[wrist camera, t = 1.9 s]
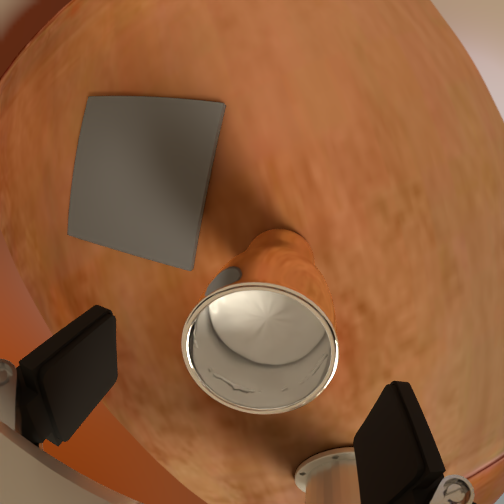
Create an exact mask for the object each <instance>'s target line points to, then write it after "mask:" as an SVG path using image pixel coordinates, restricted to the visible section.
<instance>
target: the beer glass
mask: <svg viewBox="0 0 504 504" xmlns="http://www.w3.org/2000/svg"><path fill="white" fill-rule="evenodd" d="M181 348H182V355H183V359H184V362H185V365H186V367H187V369H188V371H189V373H190V375H191V376H192V378H193V379H194V381H195V382H196V383H197V384H198V386H199V387H200V388H201V389H202V390H203V391H204V392H205V393H207V394H208V395H209V396H210V397H212V398H213V399H215V400H216V401H218V402H220V403H221V404H223V405H225V406H227V407H230V408H232V409H235V410H238V411H242V412H246V413H252V414H278V413H284V412H288V411H292V410H294V409H297V408H300V407H302V406H304V405H306V404H307V403H309V402H311V401H312V400H314V399H315V398H316V397H317V396H319V395H320V394H321V393H322V392H323V391H324V390H325V388H326V387H327V386H328V385H329V383H330V382H331V380H332V378H333V376H334V374H335V372H336V369H337V365H338V360H339V343H338V338H337V325H336V315H335V309H334V304H333V300H332V296H331V293H330V291H329V288H328V285H327V283H326V281H325V279H324V277H323V275H322V274H321V272H320V271H319V270H318V268H317V267H316V266H315V261H314V255H313V252H312V249H311V247H310V246H309V244H308V243H307V241H306V240H305V239H304V238H303V237H302V236H300V235H299V234H297V233H295V232H293V231H290V230H287V229H271V230H268V231H265V232H263V233H261V234H260V235H258V236H257V237H256V238H255V239H254V240H253V241H252V242H251V243H250V245H249V246H248V248H247V250H246V251H244V252H242V253H240V254H239V255H237V256H235V257H234V258H232V259H231V260H230V261H229V262H228V263H227V264H225V265H224V266H223V267H222V268H221V269H220V270H219V271H218V272H217V274H216V275H215V276H214V277H213V279H212V280H211V281H210V283H209V284H208V286H207V287H206V289H205V290H204V292H203V293H202V295H201V297H200V298H199V300H198V302H197V304H196V306H195V307H194V308H193V309H192V311H191V312H190V314H189V316H188V317H187V320H186V322H185V324H184V327H183V331H182V338H181Z"/></svg>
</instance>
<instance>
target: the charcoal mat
mask: <svg viewBox="0 0 504 504" xmlns="http://www.w3.org/2000/svg"><path fill="white" fill-rule="evenodd" d="M225 108H226V105H225V104H224V103H219V102H211V101H202V100H191V99H180V98H166V97H145V96H89V97H88V101H87V105H86V109H85V113H84V117H83V122H82V126H81V131H80V136H79V141H78V147H77V152H76V158H75V165H74V171H73V179H72V187H71V196H70V206H69V218H68V234H67V235H70V236H73V237H76V238H79V239H82V240H85V241H89V242H92V243H95V244H98V245H102V246H105V247H108V248H112V249H115V250H118V251H122V252H125V253H128V254H132V255H135V256H139V257H142V258H145V259H149V260H152V261H156V262H159V263H163V264H166V265H170V266H174V267H177V268H181V269H184V270H188V271H191V270H192V269H193V267H194V261H195V255H196V249H197V243H198V238H199V232H200V226H201V221H202V215H203V210H204V205H205V200H206V195H207V189H208V184H209V180H210V175H211V170H212V165H213V160H214V156H215V151H216V147H217V142H218V138H219V133H220V129H221V124H222V120H223V116H224V112H225Z"/></svg>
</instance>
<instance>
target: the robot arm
mask: <svg viewBox="0 0 504 504" xmlns="http://www.w3.org/2000/svg"><path fill="white" fill-rule="evenodd" d="M19 364H20V365H19V366H18V367H17V368H15V366H14V365H13V364H12V363H11V362H10V361H7V360H5V359H0V504H143V503H141V502H138V501H136V500H134V499H131V498H129V497H126V496H124V495H122V494H119V493H118V492H115V491H113V490H111V489H109V488H107V487H105V486H103V485H101V484H99V483H97V482H95V481H93V480H91V479H89V478H88V477H86V476H84V475H82V474H80V473H78V472H77V471H75V470H73V469H71V468H70V467H68V466H67V465H65V464H63V463H62V462H60V461H58V460H57V459H55V458H54V457H52V456H50V455H49V454H47V453H46V452H44V451H43V444H42V443H43V441H44V440H45V439H47V440H49V441H50V442H52V443H53V444H55V445H57V446H59V445H60V444H61V442H62V441H64V442H66V441H68V440H69V439H70V437H71V436H72V435H73V434H74V433H75V431H76V430H77V429H78V428H79V426H80V425H81V424H82V422H83V421H84V420H85V419H86V418H87V417H88V415H89V414H90V413H91V412H92V410H93V409H94V408H95V407H96V406H97V404H98V403H99V402H100V401H101V399H102V398H103V397H104V396H105V395H106V393H107V392H108V391H109V390H110V389H111V387H112V386H113V385H114V384H115V382H116V380H117V376H118V372H117V351H116V318H115V316H113V313H112V311H111V310H109V309H106V308H104V307H101V306H99V305H95V306H93V307H92V308H91V309H89V310H88V311H86V312H85V313H84V314H82V315H81V316H79V317H78V318H77V319H75V320H74V321H72V322H71V323H70V324H68V325H67V326H66V327H64V328H63V329H61V330H60V331H59V332H57V333H56V334H55V335H53V336H52V337H51V338H49V339H48V340H47V341H45V342H44V343H43V344H41V345H40V346H39V347H37V348H36V349H35V350H33V351H32V352H31V353H30V354H28V355H27V356H25V357H24V358H23V359H22V360H20V361H19ZM353 445H354V447H345V448H337V449H333V450H328V451H325V452H322V453H319V454H317V455H314V456H312V457H310V458H309V459H307V460H305V461H304V462H303V463H302V464H300V465H299V467H298V468H297V470H296V473H295V483H296V485H297V487H298V488H299V489H301V490H302V491H304V492H306V496H305V504H476V503H474V502H473V500H474V489H473V487H472V485H471V483H470V482H469V481H468V480H467V479H466V478H464V477H462V476H460V475H449V476H446V477H445V478H444V475H443V473H444V472H445V471H446V470H445V467H444V464H443V462H442V459H441V456H440V454H439V451H438V449H437V446H436V443H435V441H434V438H433V436H432V434H431V431H430V429H429V426H428V424H427V421H426V419H425V417H424V414H423V412H422V410H421V407H420V405H419V403H418V401H417V398H416V396H415V394H414V392H413V390H412V387H411V385H410V384H409V383H408V382H400V381H393V382H391V384H388V385H386V386H385V388H384V390H383V391H382V393H381V395H380V397H379V398H378V400H377V402H376V403H375V405H374V407H373V408H372V410H371V412H370V413H369V415H368V416H367V418H366V420H365V421H364V423H363V424H362V426H361V427H360V429H359V430H358V432H357V433H356V435H355V437H354V442H353Z"/></svg>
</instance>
